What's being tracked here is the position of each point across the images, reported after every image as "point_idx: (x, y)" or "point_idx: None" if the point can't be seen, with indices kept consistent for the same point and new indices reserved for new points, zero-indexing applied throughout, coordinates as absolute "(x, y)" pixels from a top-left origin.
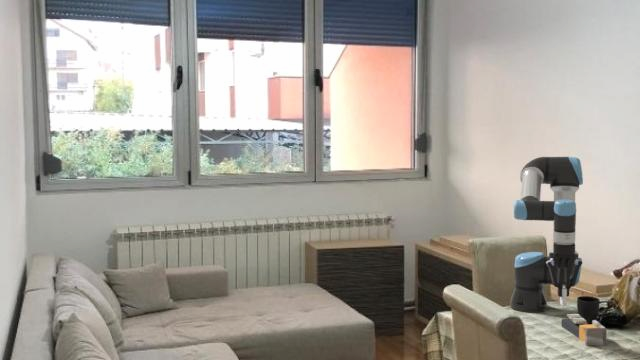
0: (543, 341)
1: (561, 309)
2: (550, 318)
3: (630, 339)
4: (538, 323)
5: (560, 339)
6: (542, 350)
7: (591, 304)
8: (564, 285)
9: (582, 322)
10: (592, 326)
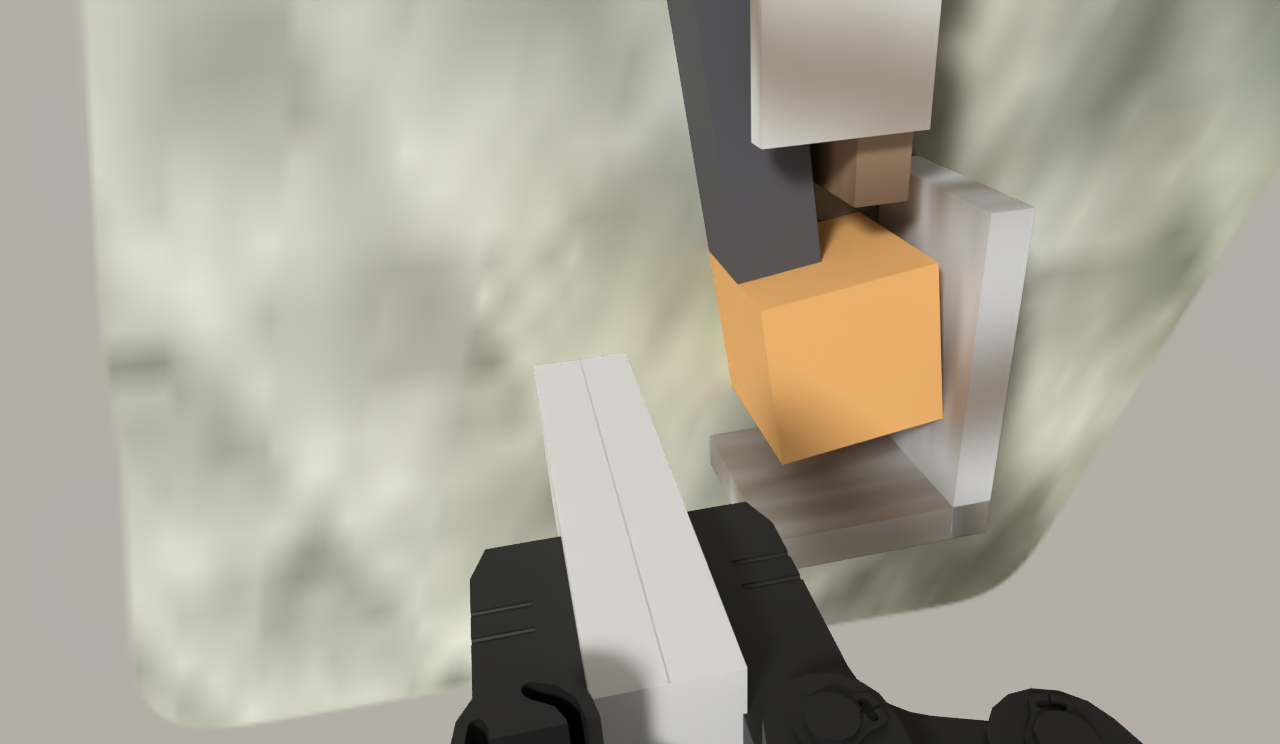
0: (270, 399)
1: None
2: None
3: (1196, 244)
4: None
5: (484, 312)
6: (247, 642)
7: None
8: (763, 735)
9: (859, 135)
10: (903, 349)
